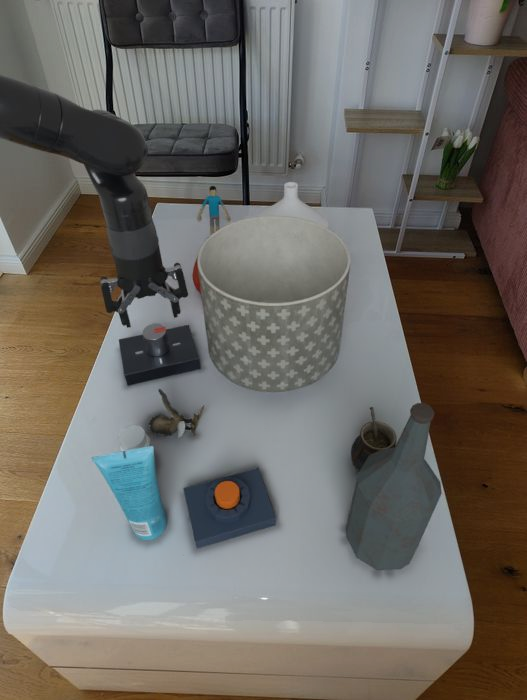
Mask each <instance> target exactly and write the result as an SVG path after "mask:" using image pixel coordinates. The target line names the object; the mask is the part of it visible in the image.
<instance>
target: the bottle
mask: <svg viewBox="0 0 527 700" xmlns="http://www.w3.org/2000/svg"><path fill="white" fill-rule="evenodd" d="M409 412H410V416H409V417H408V420H407V421H406V424H405V425H404V428H403V430H402V432H401V433H400V436H399V437H398V439H397V441H396V446H395V447H394V448H389V449H384V450H379V451H377V452H375V453H373V454H371V455H369V456H368V458H367V460H366V461H365V463H364V464H363V466H362V468H361V469H360V471H358V472H357V475H356V480H355V484H354V490H353V494H352V499H351V503H350V508H349V511H348V512H349V513H348V518H347V521H346V527H345V529H346V530H345V531H346V532H345V534H346V537H345V538H346V539H347V541H348V543H349V546H350V547H351V549H352V552H353V553H354V555H355V557H356V559H358V560H360V561H361V562H363V563H365V564H366V565H368V566H369V567H371V568H373V569H374V570H376V571H393V570H395V571H396V570H402V569H404V568H405V567H406V566H408V565H410V563H411V561H412V559H413V558H414V555H415V553H416V551H417V550H418V547H419V545H420V543H421V541H422V538H423V536H424V534H425V532H426V529H427V527H428V525H429V523H430V520H431V518H432V516H433V514H434V512H435V509H436V507H437V506H438V503H439V501H440V498H441V497H442V494H443V493H442V486H441V484H442V483H441V480H440V479H439V478H438V477H437V475H436V473H435V472H434V470H433V469H432V467H431V466H430V464H429V463H428V462H427V460H426V459H425V456H426V452H427V451H426V450H427V445H428V439H429V435H430V434H429V433H430V427H431V421H433V419H434V417H435V411H434V410H433V408H432V407H431V405H429V404H427V403H425V402H416V403H415V404H413V405H412V406H411V408H409Z"/></svg>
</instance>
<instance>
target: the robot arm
mask: <svg viewBox="0 0 527 700" xmlns="http://www.w3.org/2000/svg"><path fill="white" fill-rule="evenodd" d="M0 140H2V141H6V142H9V143H13V144H16V145H18V146H23V147H27V148H30V149H34V150H37V151H40V152H44V153H48V154H54V155H58V156H60V157H64V158H67V159H70V160H72V161H74V162H77V163H80V164H81V165H83V166H84V168H85V170H86V172H87V175H88V177H89V180H90V182H91V183H92V185H93V187H94V189H95V191H96V193H97V196H98V198H99V201H100V206H101V211H102V215H103V218H104V222H105V225H106V234H107V240H108V243H109V249H110V251H111V255H112V258H113V262H114V266H115V270H116V274H117V275H116V277H115V278H108V277H106V276H102V277H100V279H99V281H100V289H101V293H102V297H103V298H102V299H103V302H104V306H105V311H106V313H108V314H112V313H113V312H117V313H118V316H119V320H120V323H121V325H122V326H123V327H124V326H125V327H126V328H127V329H129V328H131V327H132V326H131V325H132V324H131V321H130V320H131V319H130V317H129V313H128V308H129V306H131V304H132V303H133V302H134V300H135V298H137V299H138V300H140V299H143V298H146V297H154V296H155V297H156V295H157V294H159V295H160V296H161V297H163V298H164V299H168V300H169V302H170V307H171V311H172V316H173V319H176V318H179V316H178V315H180V314H181V306H180V299H182V298H184V299H185V298H188V297H189V292H188V291H189V290H188V287H187V282H186V278H185V274H184V271H183V267H182V264H181V263H180V262H175V263H173V266H172V267H168V268H167V267H166V268H165V267H164V264H163V259H162V253H161V249H160V243H159V237H158V233H157V229H156V225H155V222H154V219H153V215H152V211H151V204H150V199H149V195H148V192H147V189H146V187H145V184H144V183H143V182H142V181H141V180H140V179H139V177H137V175H136V174H135V173H137V172H138V171H140V170H141V169H142V168H143V167H144V165H145V164H146V162H147V159H148V155H149V154H148V153H149V147H148V143H147V140H146V138H145V136H144V135H143V133H142V131H141V130H140V129H139V128H138V127H137V126H135V125H134V124H133V123H131V122H129V121H127V120H125V119H123V118H121V117H119V116H118V115H116V114H114V113H113V112H109V111H108V110H104V109H92V110H90V109H88V108H85V107H83V106H80V105H79V104H77V103H75V102H73V100H70V99H68V98H66V97H64V96H62V95H60V94H58V93H56V92H52V91H50V90H48V89H45V88H43V87H40V86H38V85H34V84H31V83H30V82H27V81H25V80H24V81H23V80H21V79H18V78H15V77H11V76H9V75H4V74H1V73H0ZM168 277H171V278H172V280H174V281H176V282H177V285H178V287H177V288H176V289H175V288H174V287H173V286H171V285H170V284H169V282H167V279H168ZM116 287H118V288H119V289H121V291H120V295H119V297H118V298H117V300H113V299H112V293H114V291H115V288H116Z"/></svg>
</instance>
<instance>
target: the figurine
mask: <svg viewBox="0 0 527 700" xmlns="http://www.w3.org/2000/svg"><path fill="white" fill-rule="evenodd" d="M208 190H209V195H208V196H206V197H205V198H204V201H203V203H202V205H201V208H200V209H199V211H198V214H197V217H196V221H197V222H198V223H200V222H202V220H203V217H202V214H203V211H204V210H205V207H206V206H207V203H208V213H209V215H208V216H209V232H210V233H209V235H210V236H211V235H212V234H213V233H215V232H216V231H217V230H219V229H221V227H220V206H221V207H222V210H223V211H224V213H225V220H226V222H227V223H231V221H232V218H231V216H230V214H229V211H227V209H226V206H225V205H224V203H223V201H222V199H221V197H220V196H219V195H217V187H216V186H215V185H210V186H209V189H208ZM210 236H209V237H210Z"/></svg>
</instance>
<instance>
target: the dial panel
mask: <svg viewBox="0 0 527 700" xmlns="http://www.w3.org/2000/svg"><path fill="white" fill-rule="evenodd" d="M166 332H167V337H168V342H169V350H168V352H167V353H166V354H164V355H162V356H151V355H149V354H148V353H147V351H146V347H145V343H144V339H143V335H142V334H137V335H133V336H127V337H124V338H119V339H118V342H119V351H120V357H121V363H122V369H123V376H124V380H125V383H126V385H127V386H133V385H137V384H141V383H146V382H150V381H155V380H159V379H163V378H168V377H172V376H176V375H181V374H186V373H189V372H193V371H199V370H201V362H200V357H199V354H198V350H197V347H196V343H195V340H194V337H193V333H192V330H191V327H190V324H186V325H185V324H184V325H180V326H175V327H171V328H166Z"/></svg>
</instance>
